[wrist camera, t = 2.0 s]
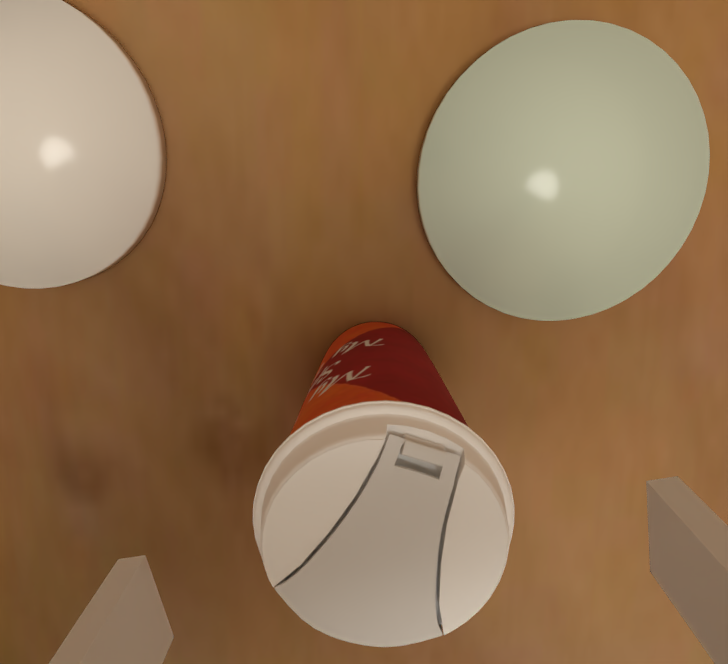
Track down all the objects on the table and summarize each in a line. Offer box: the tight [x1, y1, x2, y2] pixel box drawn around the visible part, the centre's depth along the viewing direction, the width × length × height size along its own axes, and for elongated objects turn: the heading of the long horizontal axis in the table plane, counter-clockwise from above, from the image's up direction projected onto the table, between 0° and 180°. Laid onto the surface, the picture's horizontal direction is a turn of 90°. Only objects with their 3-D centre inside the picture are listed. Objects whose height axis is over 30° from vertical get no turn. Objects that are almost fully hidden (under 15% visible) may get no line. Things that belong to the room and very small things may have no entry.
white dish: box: [0, 0, 167, 289], centre depth 24 cm, size 13×13×1 cm
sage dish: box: [416, 20, 710, 321], centre depth 25 cm, size 13×13×1 cm
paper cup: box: [253, 322, 514, 647], centre depth 21 cm, size 8×8×14 cm
